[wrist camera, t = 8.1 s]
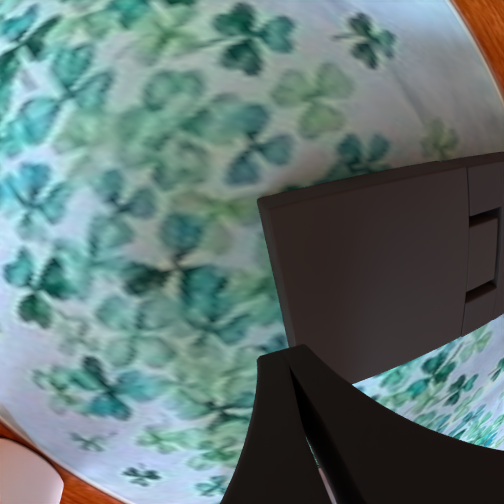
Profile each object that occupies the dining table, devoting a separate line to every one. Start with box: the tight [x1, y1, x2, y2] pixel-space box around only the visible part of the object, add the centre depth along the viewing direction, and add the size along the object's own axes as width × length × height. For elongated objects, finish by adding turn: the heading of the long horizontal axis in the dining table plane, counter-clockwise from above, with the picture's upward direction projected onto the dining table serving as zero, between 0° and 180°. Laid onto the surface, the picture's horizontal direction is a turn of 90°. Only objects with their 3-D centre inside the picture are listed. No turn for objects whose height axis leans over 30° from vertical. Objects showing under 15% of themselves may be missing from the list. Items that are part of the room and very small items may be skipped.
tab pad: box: [257, 161, 498, 384], centre depth 12 cm, size 8×10×2 cm
